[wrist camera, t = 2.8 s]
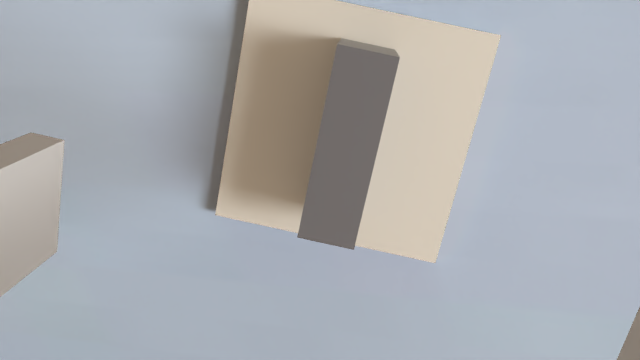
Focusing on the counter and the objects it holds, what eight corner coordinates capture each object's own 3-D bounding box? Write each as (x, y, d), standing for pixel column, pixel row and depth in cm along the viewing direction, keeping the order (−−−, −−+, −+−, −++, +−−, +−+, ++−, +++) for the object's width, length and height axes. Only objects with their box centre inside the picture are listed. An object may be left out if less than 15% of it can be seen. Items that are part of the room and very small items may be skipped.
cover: (221, 206, 29) (191, 247, 25) (256, -17, 26) (230, -22, 21) (432, 252, 29) (446, 303, 24) (495, 34, 26) (525, 40, 21)
